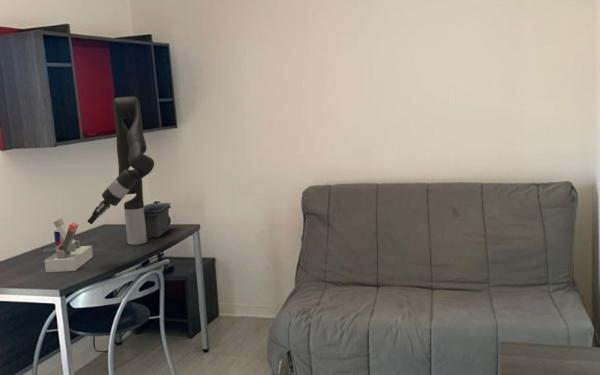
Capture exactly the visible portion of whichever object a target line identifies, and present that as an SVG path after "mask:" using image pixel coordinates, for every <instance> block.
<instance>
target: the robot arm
mask: <svg viewBox="0 0 600 375" xmlns="http://www.w3.org/2000/svg"><path fill="white" fill-rule="evenodd" d="M112 106H113V108H112V109H113V115H114V124H115V132H116V133H115V134H116V136H115V137H116V154H117V162H118V163H117V164H118V165H117V166H118V176H117V177H116V178H115V179H114V180H113V181H112V182H111V183H110V184H109V185H108V187H107V188H106V189H105V190H104V191H103V192H102V194H101V197H102V199H103V200H102V201H100V202H99V203H98V205H97V206H96V207H95V209H94V210H93V212H92V213H91V216H90V217H89V218H88V220H87V223H89V224H90V225H92V224H94V223H95V222H96V220H97V219H98V218H100V217H101V216H103V214H104V213H105V212H106V211H107V210H109V209H110V208H111V206H113V207H116V206H118V204H120V202H121V201H123V199H124V198H125V197H126V196H127V195H128V196H129V195H135V196H134V197H133V198H131V199H130V200H127V201H125V202H124V203H123V207H124V208H123V209H124V217H125V218H124V220H125V228H126V238H127V244H128V245H132V246H133V245H136V246H137V245H141V244H145V243H147V242H148V238H147V234H146V223H145V213H144V206H145V205H144V204H145V203H144V193H143V191H144V190H143V178H144V177H146V176H148V175H149V174H150V173H151V172H152V171H153V170H154V167H155V161H154V159H153V158H152V157H150V156H148V155H147V154H145V153H146V152H147V143H146V139H145V136H144V129H143V118H142V112H141V105H140V101H139V99H138V97H136V96H121V97H115V98H114V99H113V102H112ZM123 119H133V122H132V124H131V126H130V128H127V126H126V124H125V123H124V121H123ZM130 167H131V168H133V169H130Z"/></svg>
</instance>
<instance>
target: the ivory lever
mask: <svg viewBox="0 0 600 375" xmlns="http://www.w3.org/2000/svg"><path fill="white" fill-rule="evenodd" d="M52 223H53V224H54V226H55V228H56V230H58V231H59V233H60V234H61V236H62V238H63V239H64V240H65V237H66V234H67V231H68V228H69V227H67V226H66V223H65V222H64V220H63V218H59V219H57V220H55V221H54V222H52ZM75 241H76V240H75V239H74V238H73V241H72V244H73V243H75ZM75 248H77V244H75Z"/></svg>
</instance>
